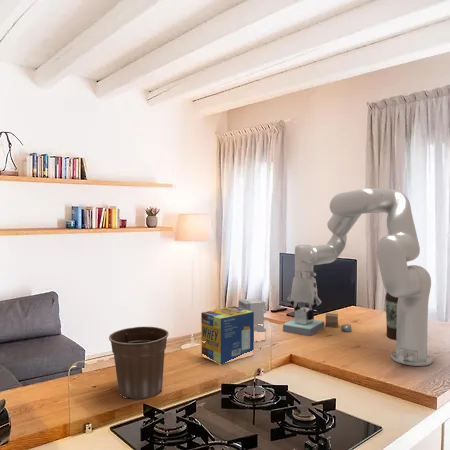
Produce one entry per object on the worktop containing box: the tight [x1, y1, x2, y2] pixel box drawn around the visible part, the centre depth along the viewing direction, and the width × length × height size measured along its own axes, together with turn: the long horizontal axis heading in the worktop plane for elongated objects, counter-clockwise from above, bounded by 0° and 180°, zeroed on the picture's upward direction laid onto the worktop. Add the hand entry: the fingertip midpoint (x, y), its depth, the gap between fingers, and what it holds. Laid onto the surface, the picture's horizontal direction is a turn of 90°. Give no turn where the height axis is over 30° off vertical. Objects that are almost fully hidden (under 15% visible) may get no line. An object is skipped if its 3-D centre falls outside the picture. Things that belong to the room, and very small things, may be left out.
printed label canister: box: [385, 291, 398, 341], centre depth 178 cm, size 11×11×25 cm
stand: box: [282, 318, 325, 337], centre depth 189 cm, size 14×12×3 cm
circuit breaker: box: [238, 298, 267, 333], centre depth 175 cm, size 8×14×15 cm, turn 111°
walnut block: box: [325, 312, 339, 329], centre depth 195 cm, size 5×5×5 cm
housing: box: [294, 306, 315, 324], centre depth 189 cm, size 5×8×6 cm, turn 145°
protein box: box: [200, 305, 255, 365], centre depth 156 cm, size 10×15×16 cm
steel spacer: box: [340, 323, 353, 333], centre depth 187 cm, size 4×4×2 cm
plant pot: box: [108, 326, 169, 400], centre depth 127 cm, size 16×16×16 cm
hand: (303, 317), depth 189 cm, fingers open, 5 cm apart
